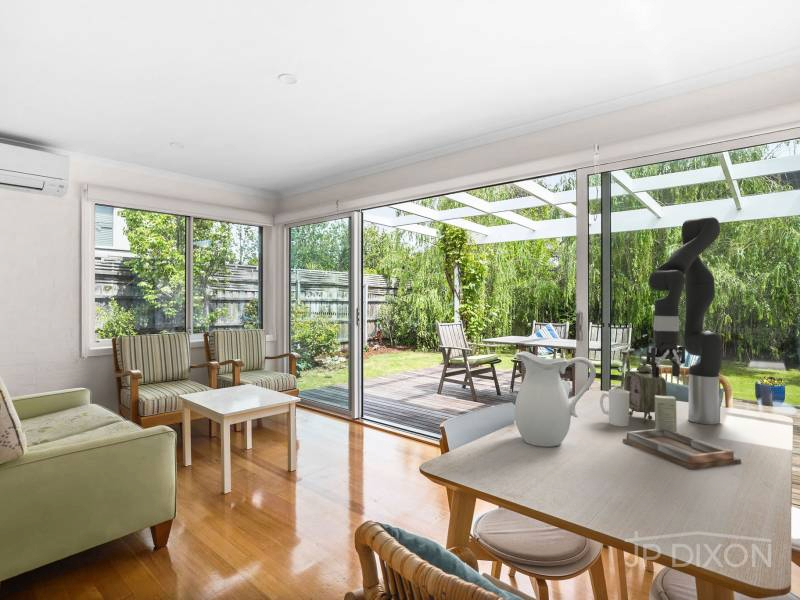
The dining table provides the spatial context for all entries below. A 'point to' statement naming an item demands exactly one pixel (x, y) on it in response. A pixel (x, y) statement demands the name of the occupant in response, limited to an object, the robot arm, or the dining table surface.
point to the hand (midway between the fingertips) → (665, 377)
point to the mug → (617, 407)
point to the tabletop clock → (643, 389)
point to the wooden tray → (681, 448)
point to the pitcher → (546, 399)
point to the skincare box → (665, 413)
